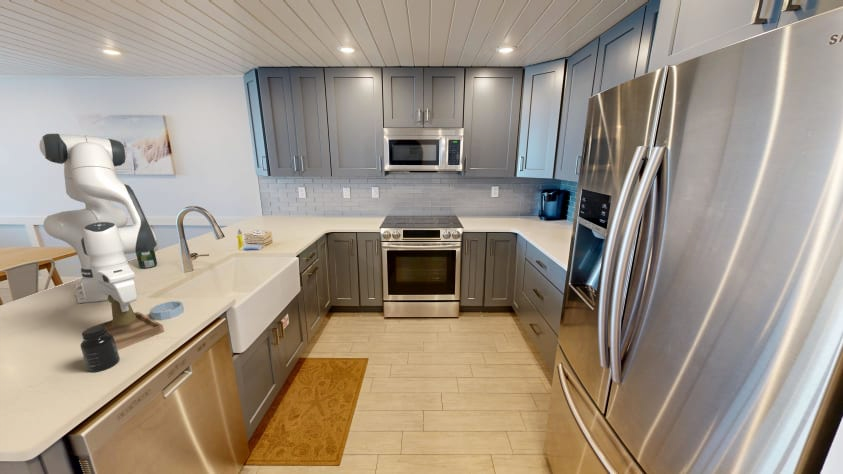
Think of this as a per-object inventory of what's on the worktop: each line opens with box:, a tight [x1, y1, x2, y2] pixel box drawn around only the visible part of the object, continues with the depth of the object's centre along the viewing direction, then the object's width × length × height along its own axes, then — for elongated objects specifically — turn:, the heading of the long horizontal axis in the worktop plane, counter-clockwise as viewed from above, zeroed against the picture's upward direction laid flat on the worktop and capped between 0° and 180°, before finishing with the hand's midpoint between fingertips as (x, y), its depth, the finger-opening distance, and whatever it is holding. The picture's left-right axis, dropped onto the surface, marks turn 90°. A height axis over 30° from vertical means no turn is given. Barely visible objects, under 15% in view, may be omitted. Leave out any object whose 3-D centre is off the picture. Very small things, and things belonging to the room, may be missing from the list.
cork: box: [107, 295, 137, 326], centre depth 106 cm, size 6×6×11 cm
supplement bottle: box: [79, 325, 121, 373], centre depth 90 cm, size 7×7×12 cm
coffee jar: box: [135, 247, 158, 270], centre depth 172 cm, size 10×8×19 cm
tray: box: [86, 311, 165, 351], centre depth 108 cm, size 20×14×3 cm
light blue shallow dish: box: [149, 300, 185, 321], centre depth 122 cm, size 10×10×3 cm
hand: (121, 308), depth 106 cm, fingers closed on cork, 4 cm apart
